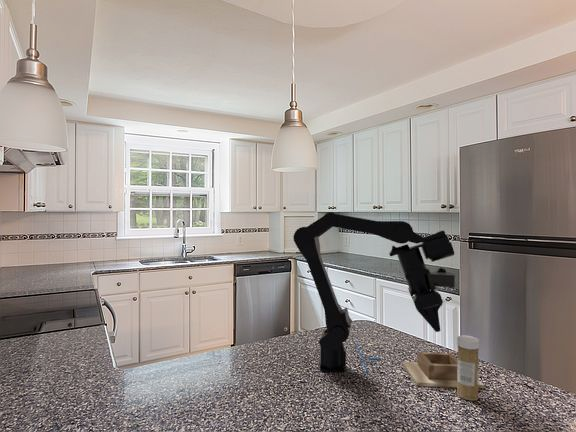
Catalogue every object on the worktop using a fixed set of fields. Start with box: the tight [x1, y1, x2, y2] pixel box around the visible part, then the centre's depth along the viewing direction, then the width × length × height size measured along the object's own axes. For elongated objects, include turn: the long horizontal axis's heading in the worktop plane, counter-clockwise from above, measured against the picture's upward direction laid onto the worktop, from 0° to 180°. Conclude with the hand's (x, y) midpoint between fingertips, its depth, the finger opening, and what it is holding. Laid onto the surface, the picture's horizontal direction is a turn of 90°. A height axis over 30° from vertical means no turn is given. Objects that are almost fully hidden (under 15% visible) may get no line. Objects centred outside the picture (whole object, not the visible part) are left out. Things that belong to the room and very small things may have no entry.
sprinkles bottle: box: [456, 334, 480, 402], centre depth 83 cm, size 5×5×13 cm
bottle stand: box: [402, 351, 485, 389], centre depth 94 cm, size 16×13×4 cm
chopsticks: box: [355, 339, 382, 374], centre depth 106 cm, size 1×25×5 cm
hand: (435, 326), depth 92 cm, fingers open, 9 cm apart
